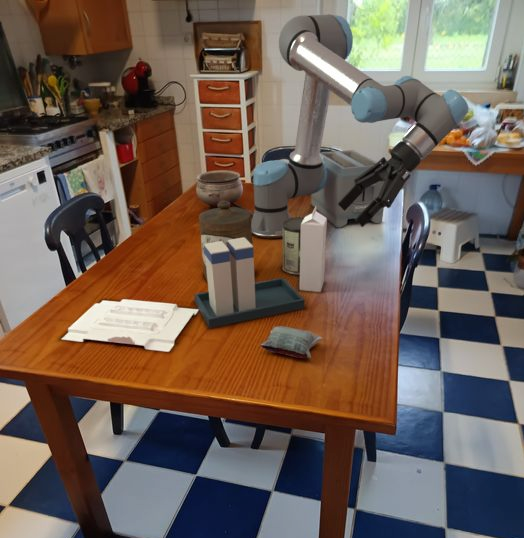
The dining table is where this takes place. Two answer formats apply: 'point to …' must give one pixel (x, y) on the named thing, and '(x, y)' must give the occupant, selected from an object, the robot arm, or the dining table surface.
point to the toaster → (345, 187)
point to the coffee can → (292, 245)
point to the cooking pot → (219, 187)
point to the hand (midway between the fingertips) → (349, 215)
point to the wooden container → (224, 226)
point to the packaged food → (291, 341)
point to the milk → (312, 252)
